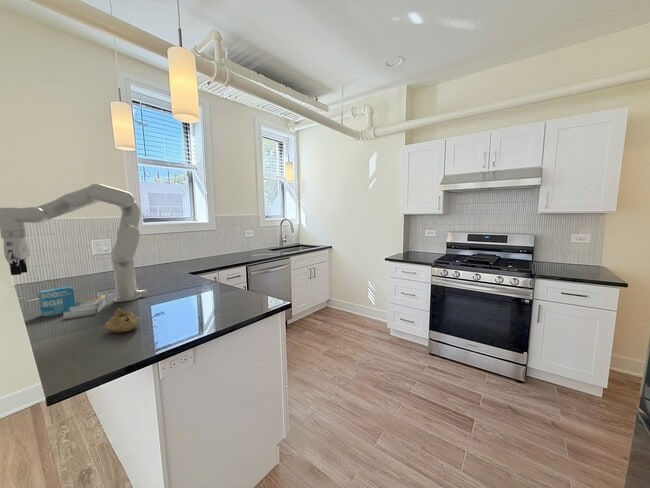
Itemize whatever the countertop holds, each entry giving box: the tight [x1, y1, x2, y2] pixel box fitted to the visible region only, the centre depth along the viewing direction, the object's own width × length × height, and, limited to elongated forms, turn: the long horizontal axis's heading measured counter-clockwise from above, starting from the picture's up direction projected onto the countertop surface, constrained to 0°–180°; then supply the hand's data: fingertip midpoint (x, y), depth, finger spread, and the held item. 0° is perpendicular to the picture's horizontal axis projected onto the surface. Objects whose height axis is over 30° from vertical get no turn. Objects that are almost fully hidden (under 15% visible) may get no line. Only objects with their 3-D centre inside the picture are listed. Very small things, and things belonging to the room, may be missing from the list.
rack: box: [62, 293, 107, 320], centre depth 134 cm, size 12×18×5 cm, turn 29°
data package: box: [37, 286, 76, 317], centre depth 132 cm, size 12×4×12 cm, turn 138°
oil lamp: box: [104, 307, 140, 334], centre depth 108 cm, size 11×15×8 cm
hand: (19, 273), depth 125 cm, fingers open, 4 cm apart
